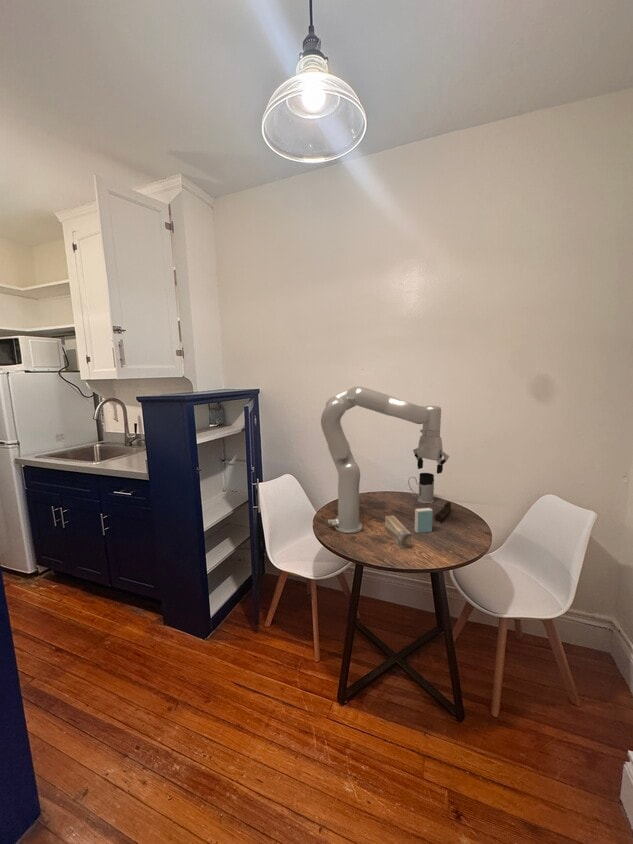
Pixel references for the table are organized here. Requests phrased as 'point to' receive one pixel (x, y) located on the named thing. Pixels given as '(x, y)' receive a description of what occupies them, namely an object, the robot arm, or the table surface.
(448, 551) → the table surface
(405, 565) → the table surface
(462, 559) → the table surface
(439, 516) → the hand tool
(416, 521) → the white and teal block
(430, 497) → the glass holder
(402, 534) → the grey-capped beige stick
